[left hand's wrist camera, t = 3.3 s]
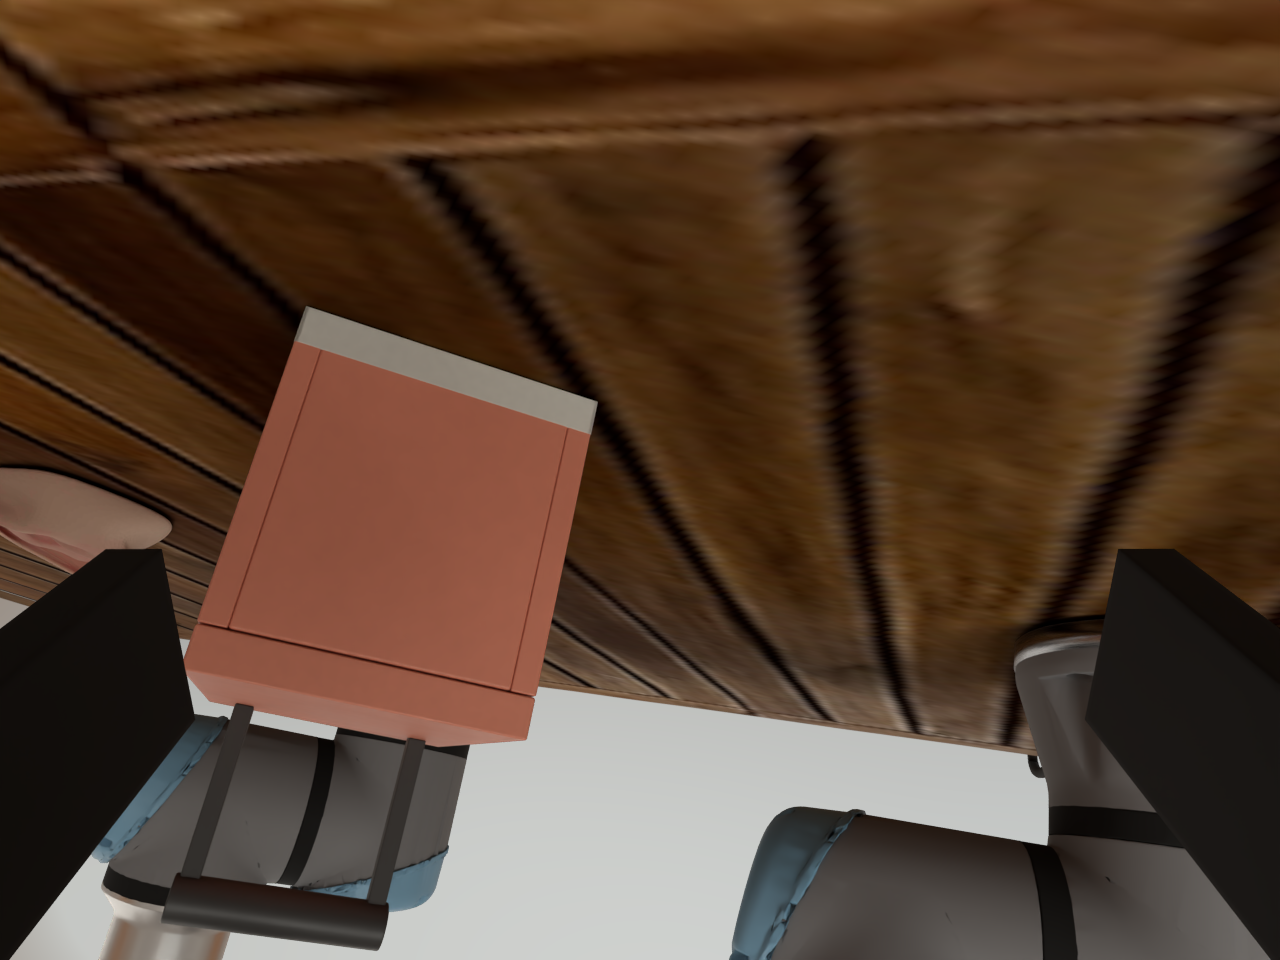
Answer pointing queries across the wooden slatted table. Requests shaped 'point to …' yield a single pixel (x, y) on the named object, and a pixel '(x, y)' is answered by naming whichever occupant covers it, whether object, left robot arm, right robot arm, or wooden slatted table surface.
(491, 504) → the chest
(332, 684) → the lid
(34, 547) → the anatomical model
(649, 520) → the wooden slatted table surface
